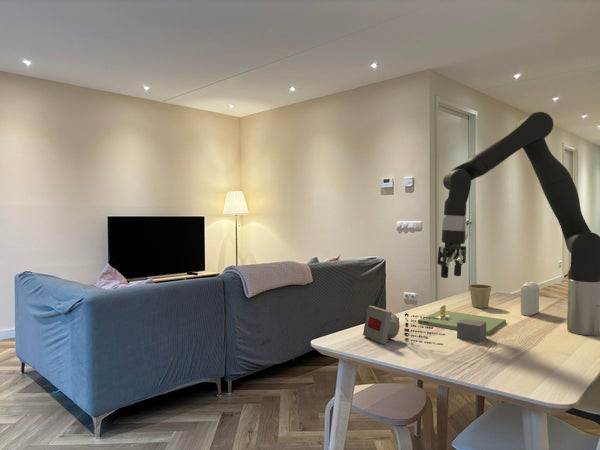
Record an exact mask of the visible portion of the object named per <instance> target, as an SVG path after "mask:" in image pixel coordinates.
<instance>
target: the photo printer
mask: <svg viewBox="0 0 600 450" xmlns="http://www.w3.org/2000/svg"><path fill="white" fill-rule="evenodd" d="M520 289H521V290H520V314H521V315H522V316H527V317H529V316H533V315H536V314H538V313H539V312H540V286H539V284H538V283H537V282H536V281H527V282H525V283H524V284H523V285H522V286H521V288H520Z"/></svg>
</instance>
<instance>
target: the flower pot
mask: <svg viewBox="0 0 600 450" xmlns="http://www.w3.org/2000/svg"><path fill="white" fill-rule="evenodd" d="M467 287H468V290H469V293H470V300H471V306H472V307H473V308H479V309H487V308H489V304H490V296H491V291H492V289H493V286H492V285H488V284H480V283H479V284H477V283H476V284H468V285H467Z"/></svg>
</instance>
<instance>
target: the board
mask: <svg viewBox="0 0 600 450" xmlns="http://www.w3.org/2000/svg"><path fill="white" fill-rule="evenodd" d="M424 317H425V318H423V317H422V318H419V319H418V320H419V321H420V322H419V321H418V320H417V323H418V324H420V325H425V326H430V327H436V328H442V329H450V330H455V331H457V322H459V321H461V320H463V319H469V320H475V321H482V322H486V336H489V335H491V334H492V333H494V332H495V331H497V330H498V329H499V328H500V327H502V326H504V325H505V324H506V323H507V319H505V318H496V317H491V316H484V315H479V314H478V315H477V314H471V313H470V314H469V313H464V312H456V311H450V310H446V316H444V317H443V318H444V319H447V321H446V320H443V319H442V320H441V319H440V318H441V317H440V310H437V311H435V312H433V313H430V314H429V315H426V316H424ZM430 317H435V318H439V320H438V319H431V318H430ZM429 318H430V319H429ZM421 321H422V323H421ZM424 321H425V323H424ZM427 321H428V323H427Z"/></svg>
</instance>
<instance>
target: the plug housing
mask: <svg viewBox="0 0 600 450" xmlns="http://www.w3.org/2000/svg"><path fill="white" fill-rule="evenodd" d="M456 338H457V339H459V340H460V339H461V340H465V341H470V342H477V343H481V342H482V341H484V340H485V339H487V335H486V322H482V321H475V320H469V319H463V320H461V321H459V322H457V330H456Z"/></svg>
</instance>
